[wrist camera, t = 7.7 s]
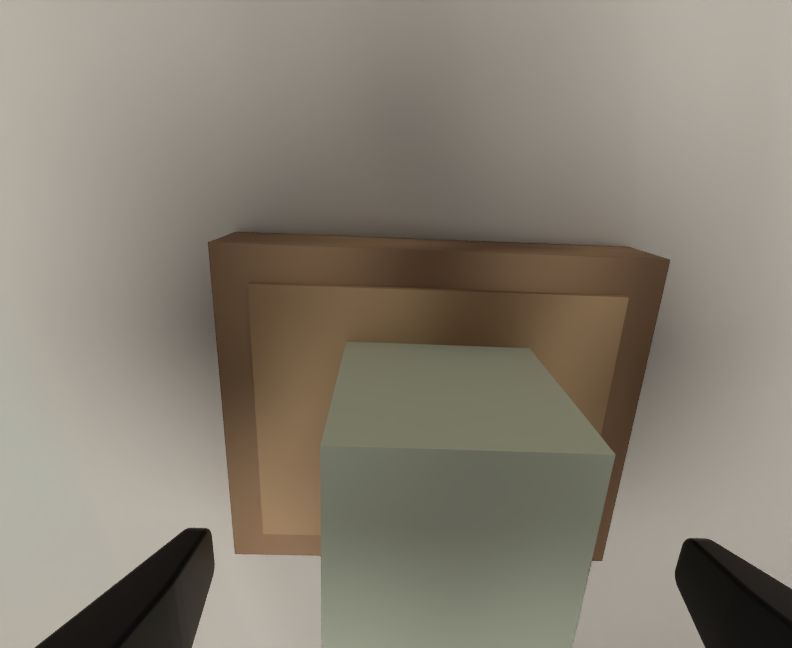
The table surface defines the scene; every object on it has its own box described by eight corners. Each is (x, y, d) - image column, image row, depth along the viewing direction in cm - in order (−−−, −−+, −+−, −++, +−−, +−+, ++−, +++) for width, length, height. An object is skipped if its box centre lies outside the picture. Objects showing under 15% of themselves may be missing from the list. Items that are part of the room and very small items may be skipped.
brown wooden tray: (628, 247, 14) (674, 261, 12) (576, 514, 17) (604, 565, 15) (235, 232, 14) (205, 243, 12) (253, 506, 17) (233, 558, 15)
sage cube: (529, 348, 13) (616, 454, 8) (507, 500, 14) (568, 666, 9) (346, 341, 12) (320, 445, 8) (344, 495, 14) (321, 661, 9)
